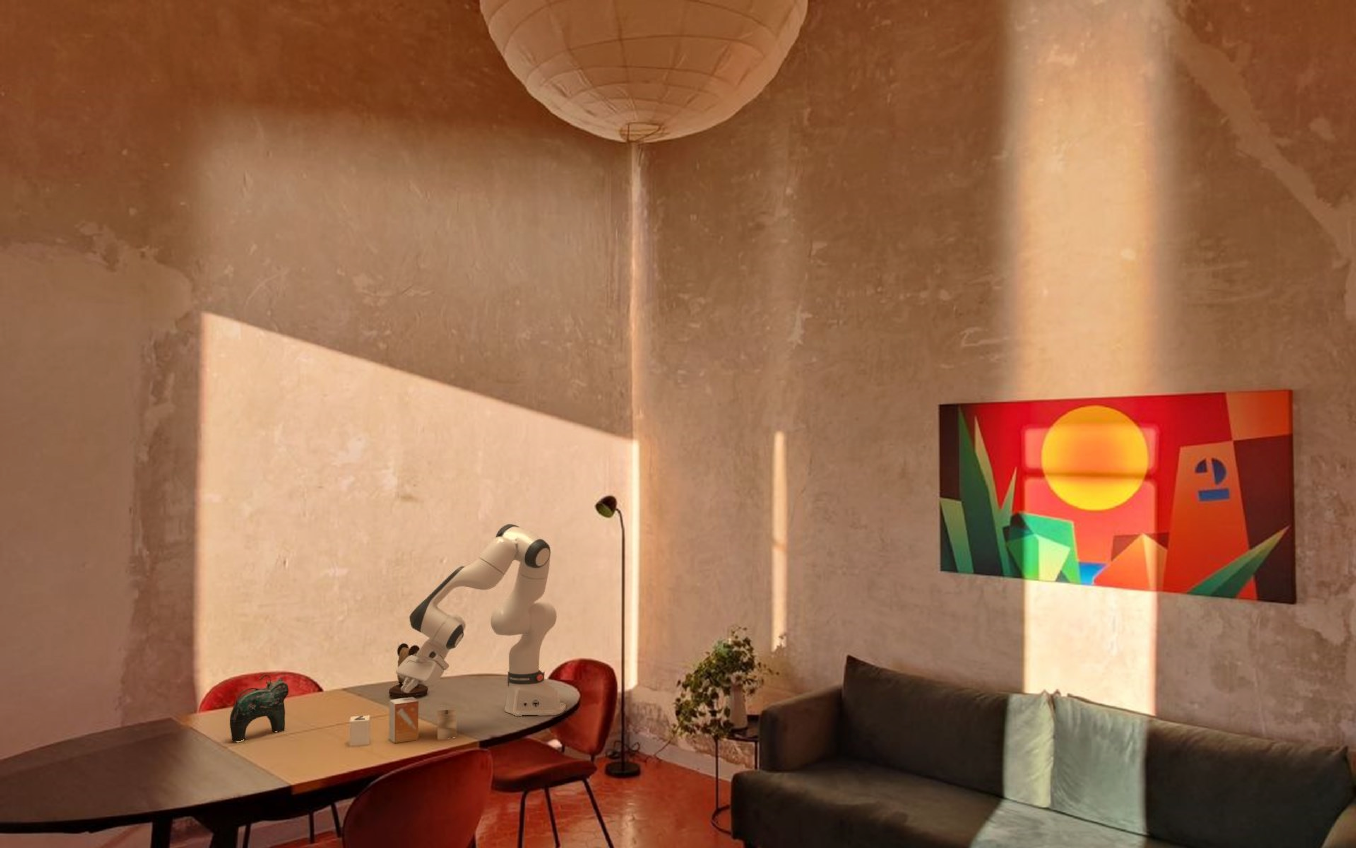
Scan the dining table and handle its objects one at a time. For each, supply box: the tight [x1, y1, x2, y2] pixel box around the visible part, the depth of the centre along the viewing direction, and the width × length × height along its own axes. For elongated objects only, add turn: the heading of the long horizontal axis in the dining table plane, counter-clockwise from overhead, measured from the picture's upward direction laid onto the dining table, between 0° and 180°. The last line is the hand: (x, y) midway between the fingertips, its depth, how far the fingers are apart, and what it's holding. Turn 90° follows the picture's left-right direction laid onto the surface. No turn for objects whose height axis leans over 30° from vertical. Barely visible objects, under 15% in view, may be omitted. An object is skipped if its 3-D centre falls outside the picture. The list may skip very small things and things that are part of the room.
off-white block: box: [349, 714, 371, 747], centre depth 318 cm, size 6×6×8 cm
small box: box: [388, 696, 419, 744], centre depth 321 cm, size 8×6×13 cm
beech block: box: [436, 708, 457, 740], centre depth 325 cm, size 6×6×8 cm
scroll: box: [388, 642, 429, 698], centre depth 379 cm, size 15×15×20 cm
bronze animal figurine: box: [229, 674, 289, 741], centre depth 326 cm, size 20×6×20 cm, turn 145°
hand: (404, 691), depth 322 cm, fingers closed
